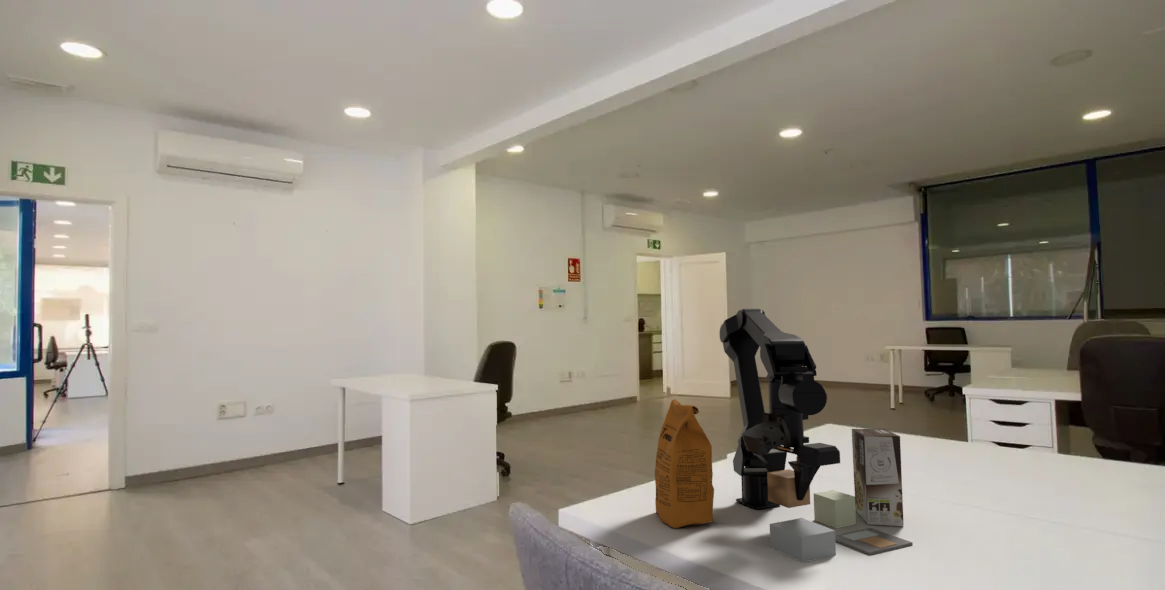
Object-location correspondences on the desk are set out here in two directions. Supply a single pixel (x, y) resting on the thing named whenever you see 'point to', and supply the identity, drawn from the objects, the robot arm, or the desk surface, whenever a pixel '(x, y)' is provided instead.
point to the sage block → (834, 508)
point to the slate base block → (802, 539)
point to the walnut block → (784, 489)
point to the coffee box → (877, 476)
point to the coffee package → (683, 469)
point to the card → (871, 541)
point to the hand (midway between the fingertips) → (788, 496)
